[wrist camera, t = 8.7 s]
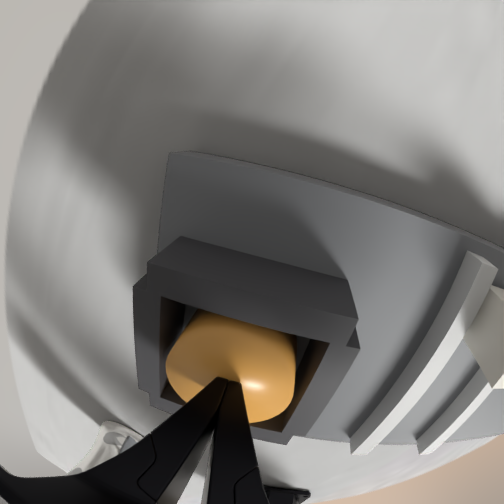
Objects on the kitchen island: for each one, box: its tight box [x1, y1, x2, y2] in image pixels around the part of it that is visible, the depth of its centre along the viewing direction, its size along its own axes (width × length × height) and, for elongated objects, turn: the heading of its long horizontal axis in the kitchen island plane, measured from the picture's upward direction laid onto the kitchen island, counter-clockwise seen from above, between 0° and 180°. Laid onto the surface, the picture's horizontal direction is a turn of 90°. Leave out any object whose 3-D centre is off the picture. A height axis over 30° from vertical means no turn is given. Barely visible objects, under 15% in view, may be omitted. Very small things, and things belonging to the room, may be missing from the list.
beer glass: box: [66, 421, 144, 476], centre depth 15 cm, size 7×7×15 cm
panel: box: [133, 151, 504, 455], centre depth 10 cm, size 13×29×4 cm, turn 78°
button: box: [166, 308, 297, 423], centre depth 10 cm, size 4×4×2 cm
